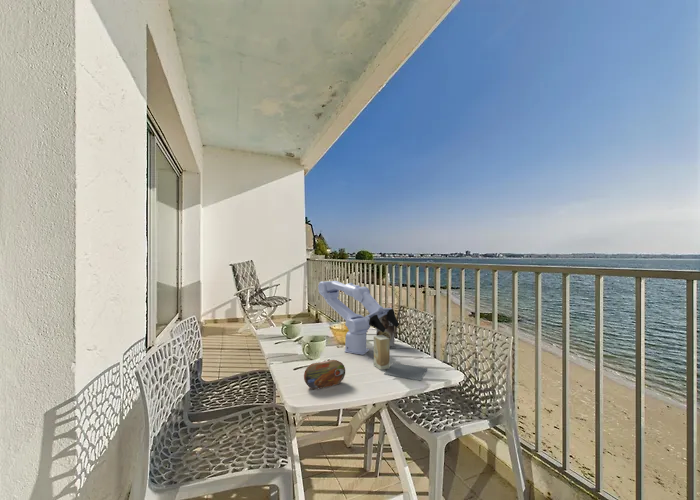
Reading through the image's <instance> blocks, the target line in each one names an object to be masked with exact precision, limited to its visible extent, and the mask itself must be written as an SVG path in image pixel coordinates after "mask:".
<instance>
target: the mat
mask: <svg viewBox="0 0 700 500" xmlns="http://www.w3.org/2000/svg"><path fill="white" fill-rule="evenodd" d="M427 370H428V368H427V367H424V366H423V367H421V366H416V365H409V364H403V363H398V362H392V363H391V365H390V368H388V369H386V371H385V372H384V374H383V375H385V376H389V377H390V376H391V377H396V378H401V379H402V378H403V379H407V380H413V381H419V382H421V381H422V380H423V377H424V376H425V373H426V371H427Z"/></svg>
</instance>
